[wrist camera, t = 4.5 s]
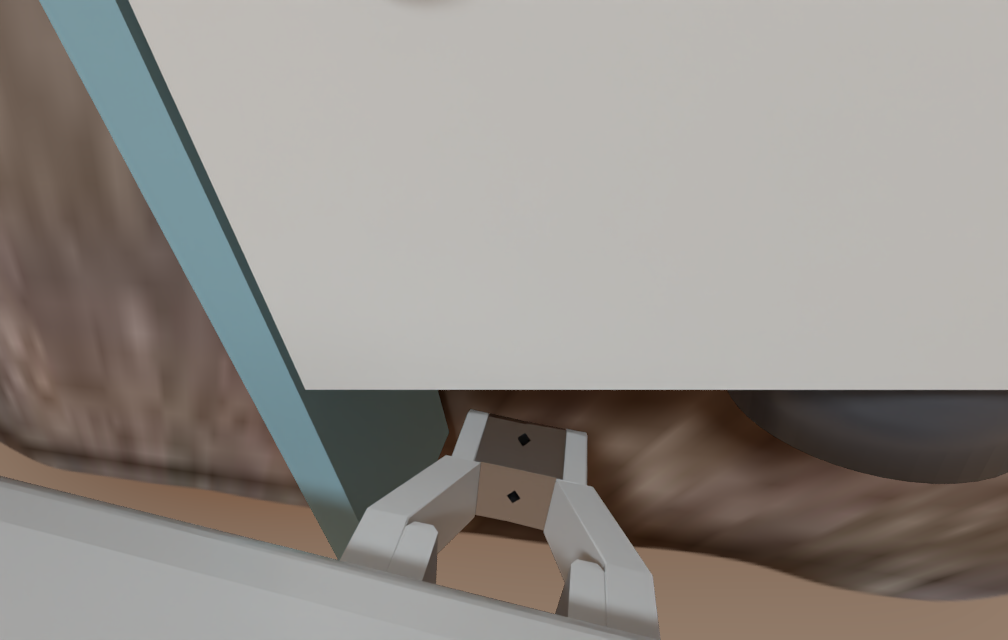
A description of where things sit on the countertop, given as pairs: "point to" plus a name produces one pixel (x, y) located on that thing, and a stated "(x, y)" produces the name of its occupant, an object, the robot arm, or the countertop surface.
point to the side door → (244, 286)
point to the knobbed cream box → (628, 202)
